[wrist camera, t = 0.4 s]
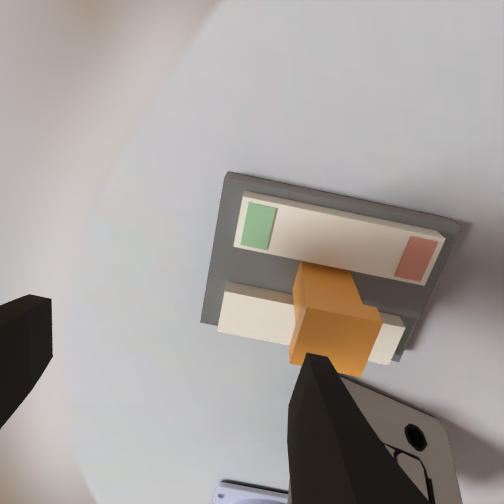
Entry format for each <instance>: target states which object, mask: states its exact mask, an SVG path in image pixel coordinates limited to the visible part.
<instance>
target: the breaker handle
mask: <svg viewBox="0 0 504 504" xmlns="http://www.w3.org/2000/svg"><path fill="white" fill-rule="evenodd" d="M292 290H293V302H294V315H295V328H294V331H293V335H292V338H291V341H290V345H289V359H290V363H291V364H296V365H301V366H302V364H303V362H304V359H305V356H306V353H307V352H308V353H312V354H317V355H322V356H327V357H328V358H329V359H330V361H331V363H332V364H333V366H334V368H335V369H336V371H337V373H342V374H347V375H352V376H357V377H361V375H362V373H363V370H364V368H365V365H366V363H367V361H368V358H369V356H370V353H371V351H372V349H373V346H374V344H375V341H376V339H377V337H378V334H379V332H380V329H381V327H382V325H383V321H382V318H381V316H380V314H379V312H378V310H377V307H372V306H368V305H363V303H362V301H361V298H360V296H359V293H358V291H357V288H356V285H355V283H354V280H353V278H352V275H351V273H350V270H345V269H340V268H335V267H330V266H325V265H320V264H316V263H311V262H306V261H300V264H299V268H298V271H297V275H296V279H295V282H294V286H293V289H292Z"/></svg>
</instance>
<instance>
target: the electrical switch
mask: <svg viewBox="0 0 504 504" xmlns="http://www.w3.org/2000/svg"><path fill="white" fill-rule="evenodd" d="M340 378H341V379H342V381H343V383H344V384H345V386H346V388H347V389H348V391H349V393H350V394H351V396H352V398H353V399H354V401H355V402H356V404H357V406H358V407H359V409H360V410H361V412H362V413H363V415H364V416H365V418H366V419H367V421H368V422H369V424H370V426H371V427H372V428H373V430H374V431H375V433H376V434H377V436H378V437H379V438H380V440H381V441H382V443H383V444H384V445H385V447H386V448H387V449H388V451H389V452H390V454H391V455H392V456H393V458H394V459H395V460H396V461H397V463H398V464H399V465H400V467H401V468H402V469H403V470H404V472H405V473H406V474H407V475H408V477H409V478H410V479H411V480H412V481H413V483H414V484H415V485H416V486H417V487H418V489H419V490H420V491H421V492H422V493H423V495H424V496H425V497H426V498H427V499H428V501H429V502H430V503H431V504H463V502H462V498H461V493H460V489H459V485H458V480H457V476H456V471H455V467H454V462H453V458H452V453H451V449H450V444H449V440H448V435H447V431H446V430H445V429H444V427H443V426H442V425H441V423H440V422H439V421H438V420H437V419H435V418H433V417H431V416H429V415H426V414H424V413H422V412H420V411H417V410H415V409H413V408H410V407H408V406H406V405H404V404H401V403H399V402H397V401H395V400H392V399H390V398H388V397H385V396H383V395H381V394H379V393H376V392H374V391H372V390H370V389H367V388H365V387H363V386H360V385H358V384H356V383H354V382H351V381H349V380H347V379H344V378H342V377H340ZM287 504H292V497H291V484H290V481H289V492H288V502H287Z"/></svg>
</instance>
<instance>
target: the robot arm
mask: <svg viewBox="0 0 504 504" xmlns="http://www.w3.org/2000/svg"><path fill="white" fill-rule="evenodd" d="M51 306H52V305H51V299H49V298H44V297H40V296H35V295H30V294H29V295H26V296H23V297H21V298H18V299H15V300H13V301H10V302H8V303H5V304H3V305H0V429H1V427H2V426H3V425H4V424H5V423H6V421H7V420H8V419H9V418H10V417H11V415H12V414H13V413H14V412H15V410H16V409H17V408H18V407H19V405H20V404H21V403H22V402H23V400H24V399H25V398H26V397H27V395H28V394H29V393H30V392H31V390H32V389H33V387H34V386H35V384H36V383H37V381H38V380H39V378H40V377H41V375H42V374H43V372H44V370H45V369H46V367H47V365H48V364H49V362H50V360H51V359H52V357H53V355H52V309H51V308H52V307H51ZM287 444H288V458H289V472H290V484H291V497H292V504H431V503H430V502H429V501H428V499H427V498H426V497H425V496H424V495H423V493H422V492H421V491H420V490H419V489H418V487H417V486H416V485H415V484H414V483H413V481H412V480H411V479H410V478H409V477H408V475H407V474H406V473H405V472H404V470H403V469H402V468H401V467H400V465H399V464H398V463H397V461H396V460H395V459H394V458H393V456H392V455H391V454H390V452H389V451H388V449H387V448H386V447H385V445H384V444H383V443H382V441H381V440H380V438H379V437H378V436H377V434H376V433H375V431H374V430H373V428H372V427H371V426H370V424H369V422H368V421H367V419H366V418H365V416H364V415H363V413H362V412H361V410H360V409H359V407H358V406H357V404H356V402H355V401H354V399H353V398H352V396H351V394H350V393H349V391H348V389H347V388H346V386H345V384H344V383H343V381H342V379H341V378H340V376H339V374H338V373H337V371H336V369H335V368H334V366H333V364H332V363H331V361H330V359H329V358H328V357H327V356H322V355H317V354H312V353H308V352H307V353H306V356H305V359H304V362H303V364H302V367H301V370H300V373H299V376H298V379H297V382H296V385H295V388H294V391H293V394H292V397H291V400H290V403H289V409H288V435H287ZM287 502H288V494H284V493H278V492H273V491H268V490H262V489H257V488H252V487H246V486H241V485H236V484H230V483H225V482H220V483H218V484H217V486H216V489H215V494H214V498H213V502H212V504H287Z"/></svg>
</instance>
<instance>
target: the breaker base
mask: <svg viewBox="0 0 504 504" xmlns="http://www.w3.org/2000/svg"><path fill="white" fill-rule="evenodd" d="M460 229H461V226H459V225H458V224H457V223H456V222H454V221H453V220H452V219H450V218H446V217H441V216H436V215H432V214H427V213H422V212H417V211H413V210H408V209H403V208H398V207H394V206H389V205H384V204H379V203H374V202H370V201H365V200H360V199H355V198H351V197H346V196H341V195H336V194H332V193H327V192H322V191H317V190H312V189H308V188H303V187H298V186H293V185H289V184H284V183H279V182H274V181H270V180H265V179H260V178H255V177H250V176H246V175H241V174H236V173H231V172H227V174H226V175H225V177H224V183H223V189H222V195H221V201H220V207H219V213H218V219H217V225H216V231H215V237H214V243H213V249H212V255H211V261H210V267H209V273H208V279H207V285H206V291H205V297H204V303H203V309H202V315H201V321H200V322H201V323H206V324H211V325H216V326H218V328H217V331H218V332H223V333H228V334H233V335H238V336H243V337H248V338H253V339H258V340H264V341H269V342H274V343H279V344H284V345H290V341H291V338H292V335H293V331H294V328H295V315H294V302H293V290H292V289H293V286H294V282H295V279H296V275H297V271H298V268H299V264H300V261H306V262H311V263H316V264H320V265H325V266H330V267H335V268H340V269H345V270H350V273H351V275H352V278H353V280H354V283H355V285H356V288H357V291H358V293H359V296H360V298H361V301H362V303H363V305H368V306H372V307H377V310H378V312H379V314H380V316H381V318H382V321H383V325H382V327H381V329H380V332H379V334H378V337H377V339H376V341H375V344H374V346H373V349H372V351H371V353H370V356H369V358H368V361H369V362H374V363H379V364H384V365H389V363H390V361H391V360H392V361H397V362H399V361H400V358H401V356H402V354H403V352H404V350H405V348H406V345H407V343H408V341H409V339H410V337H411V335H412V332H413V330H414V328H415V326H416V324H417V322H418V319H419V317H420V315H421V313H422V311H423V309H424V307H425V304H426V302H427V300H428V298H429V296H430V294H431V291H432V289H433V287H434V285H435V283H436V281H437V278H438V276H439V274H440V272H441V270H442V268H443V265H444V263H445V261H446V259H447V257H448V255H449V253H450V250H451V248H452V246H453V244H454V242H455V240H456V237H457V235H458V233H459V231H460Z"/></svg>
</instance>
